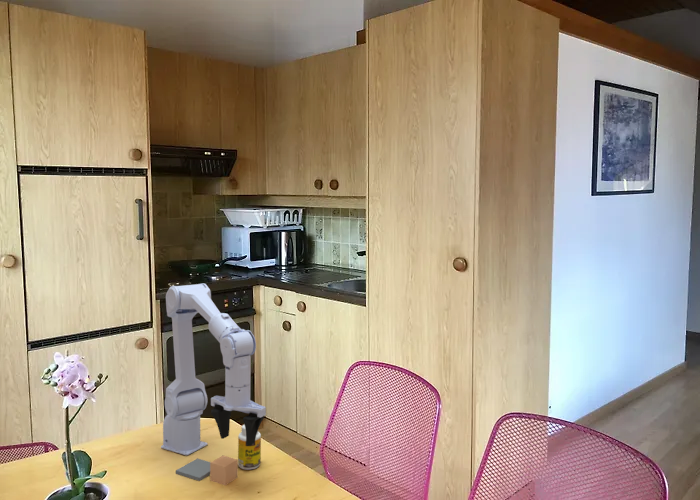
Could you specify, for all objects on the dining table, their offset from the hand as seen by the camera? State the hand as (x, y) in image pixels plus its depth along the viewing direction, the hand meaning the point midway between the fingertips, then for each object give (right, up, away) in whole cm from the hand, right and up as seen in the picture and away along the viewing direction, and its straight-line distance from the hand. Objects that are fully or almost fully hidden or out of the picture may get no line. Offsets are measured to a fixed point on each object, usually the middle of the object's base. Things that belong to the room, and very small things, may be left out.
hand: (237, 440), depth 134 cm
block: (-4, -10, +3) cm, 11 cm away
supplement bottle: (+1, -10, +10) cm, 14 cm away
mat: (-11, -10, +6) cm, 16 cm away
